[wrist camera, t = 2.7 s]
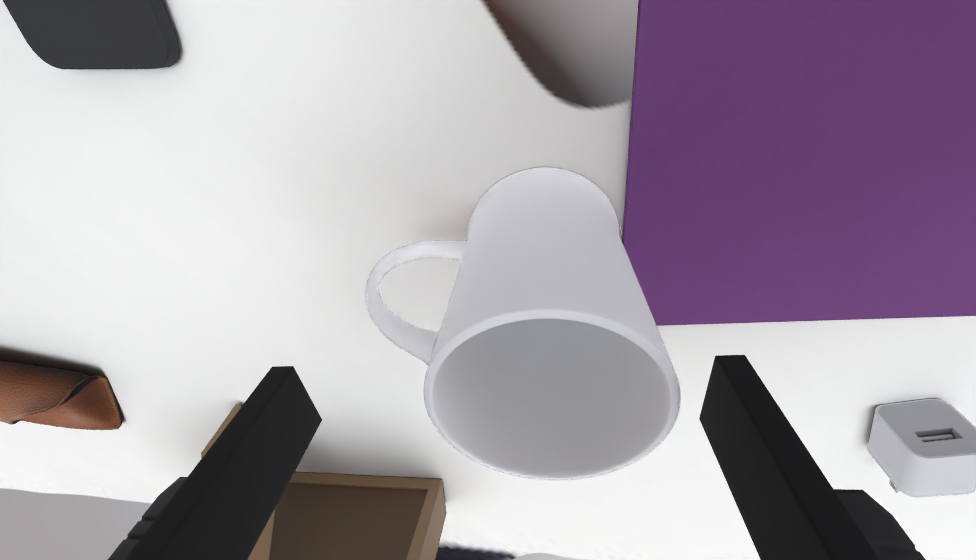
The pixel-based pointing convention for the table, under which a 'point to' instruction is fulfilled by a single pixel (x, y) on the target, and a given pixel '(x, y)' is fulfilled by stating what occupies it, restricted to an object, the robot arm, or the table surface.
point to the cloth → (803, 160)
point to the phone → (97, 33)
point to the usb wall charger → (924, 448)
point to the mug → (540, 335)
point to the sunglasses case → (56, 398)
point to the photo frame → (351, 517)
